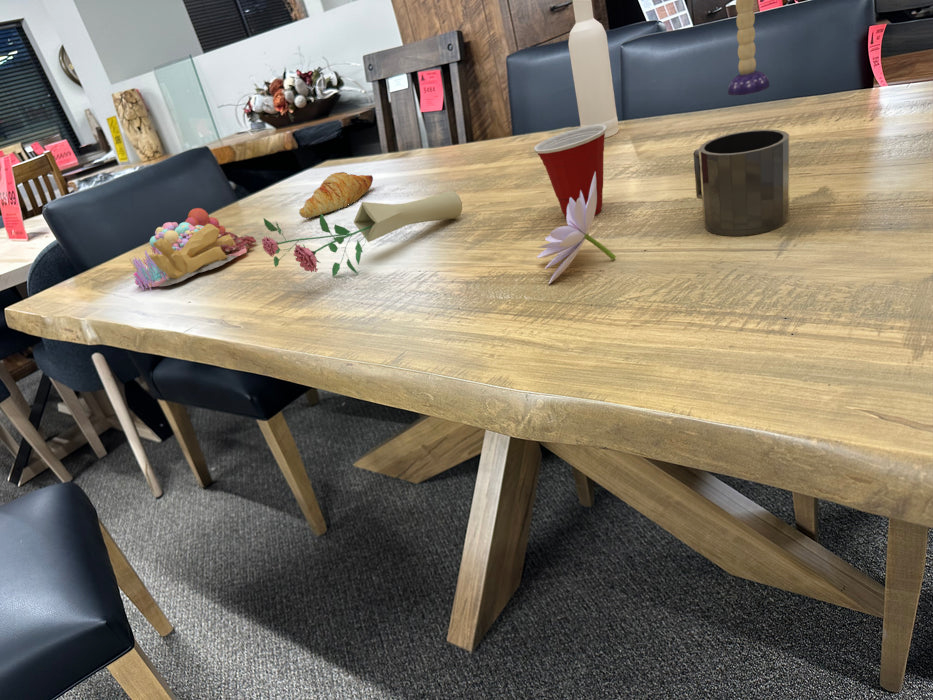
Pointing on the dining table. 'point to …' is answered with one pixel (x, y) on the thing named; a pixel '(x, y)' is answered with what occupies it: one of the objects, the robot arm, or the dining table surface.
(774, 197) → the mug
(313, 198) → the croissant
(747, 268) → the dining table surface
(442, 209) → the flower vase
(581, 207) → the water lily
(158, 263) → the pastel sphere sculpture
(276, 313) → the dining table surface
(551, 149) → the plastic cup
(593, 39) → the bottle
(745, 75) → the toy lamp
